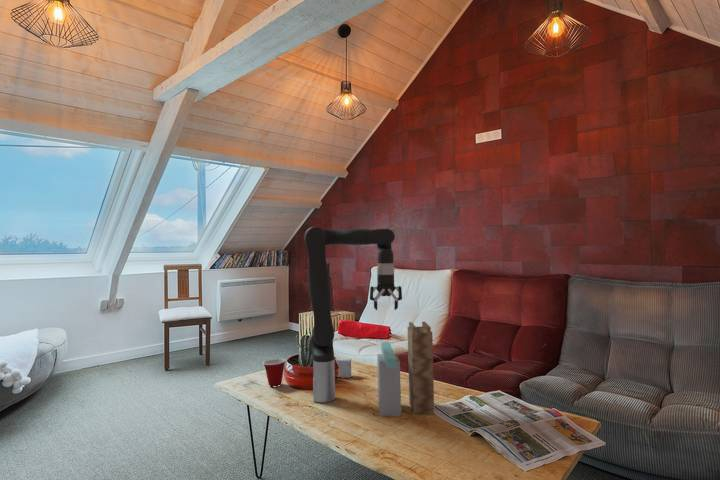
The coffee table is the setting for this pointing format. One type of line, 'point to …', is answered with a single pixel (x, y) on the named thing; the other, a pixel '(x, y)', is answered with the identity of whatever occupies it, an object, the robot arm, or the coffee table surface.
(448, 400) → the coffee table surface
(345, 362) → the medicine box
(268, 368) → the plastic cup
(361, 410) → the coffee table surface
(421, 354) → the post
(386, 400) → the tall gray pillar
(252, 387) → the coffee table surface
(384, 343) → the bar
